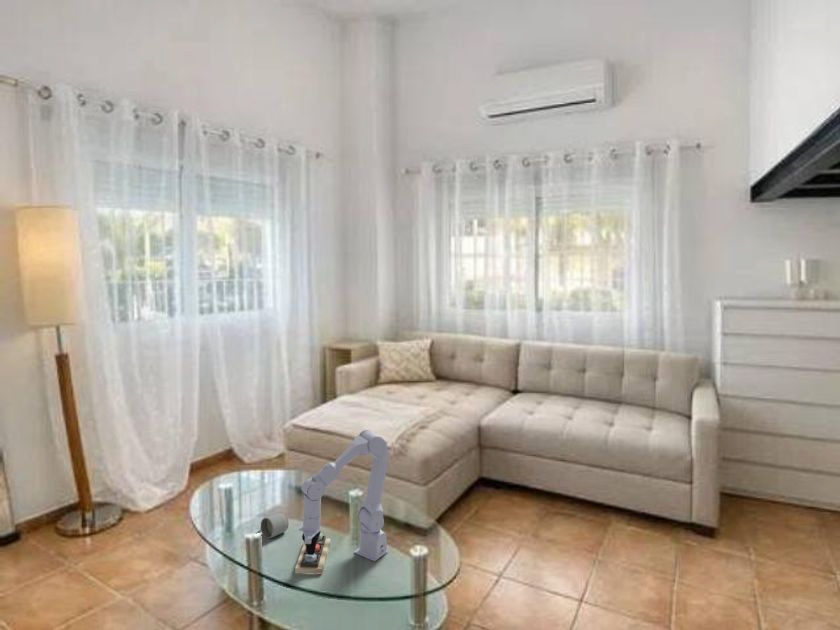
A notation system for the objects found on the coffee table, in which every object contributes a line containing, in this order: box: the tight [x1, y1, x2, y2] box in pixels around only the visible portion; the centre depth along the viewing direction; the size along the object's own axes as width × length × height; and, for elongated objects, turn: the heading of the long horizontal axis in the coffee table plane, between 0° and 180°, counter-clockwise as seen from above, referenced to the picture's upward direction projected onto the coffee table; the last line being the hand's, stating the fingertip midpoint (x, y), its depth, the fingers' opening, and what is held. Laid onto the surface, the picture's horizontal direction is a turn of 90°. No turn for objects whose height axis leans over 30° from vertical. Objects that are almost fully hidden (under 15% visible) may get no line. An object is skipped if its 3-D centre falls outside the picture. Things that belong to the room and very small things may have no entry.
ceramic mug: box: [260, 512, 290, 540], centre depth 201 cm, size 11×8×8 cm
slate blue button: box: [305, 553, 317, 563], centre depth 178 cm, size 4×4×2 cm
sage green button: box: [317, 532, 324, 542], centre depth 191 cm, size 4×4×2 cm
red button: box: [315, 544, 320, 552], centre depth 185 cm, size 4×4×2 cm
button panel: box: [294, 535, 331, 575], centre depth 185 cm, size 20×9×3 cm, turn 2°
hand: (310, 553), depth 178 cm, fingers closed
